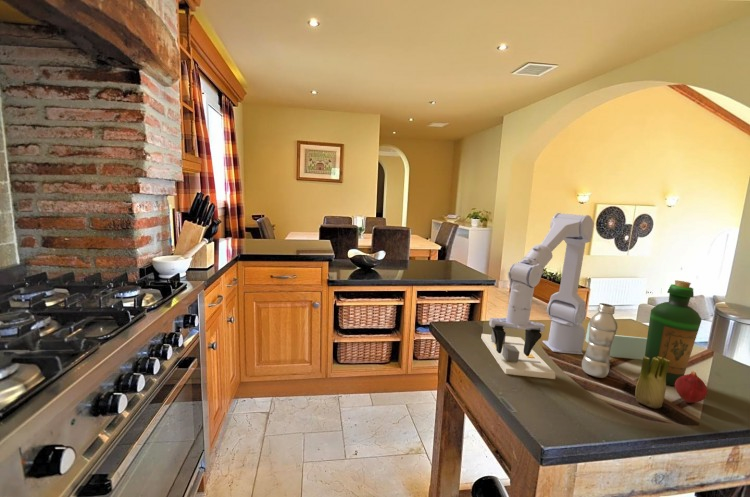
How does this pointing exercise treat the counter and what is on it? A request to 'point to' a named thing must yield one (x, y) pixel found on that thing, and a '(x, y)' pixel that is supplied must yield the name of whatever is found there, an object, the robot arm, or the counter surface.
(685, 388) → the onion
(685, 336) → the bottle
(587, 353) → the plastic bottle
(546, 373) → the switch console
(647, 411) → the counter surface
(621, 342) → the l-shaped corner panel
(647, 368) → the fennel bulb
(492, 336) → the switch
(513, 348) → the switch
